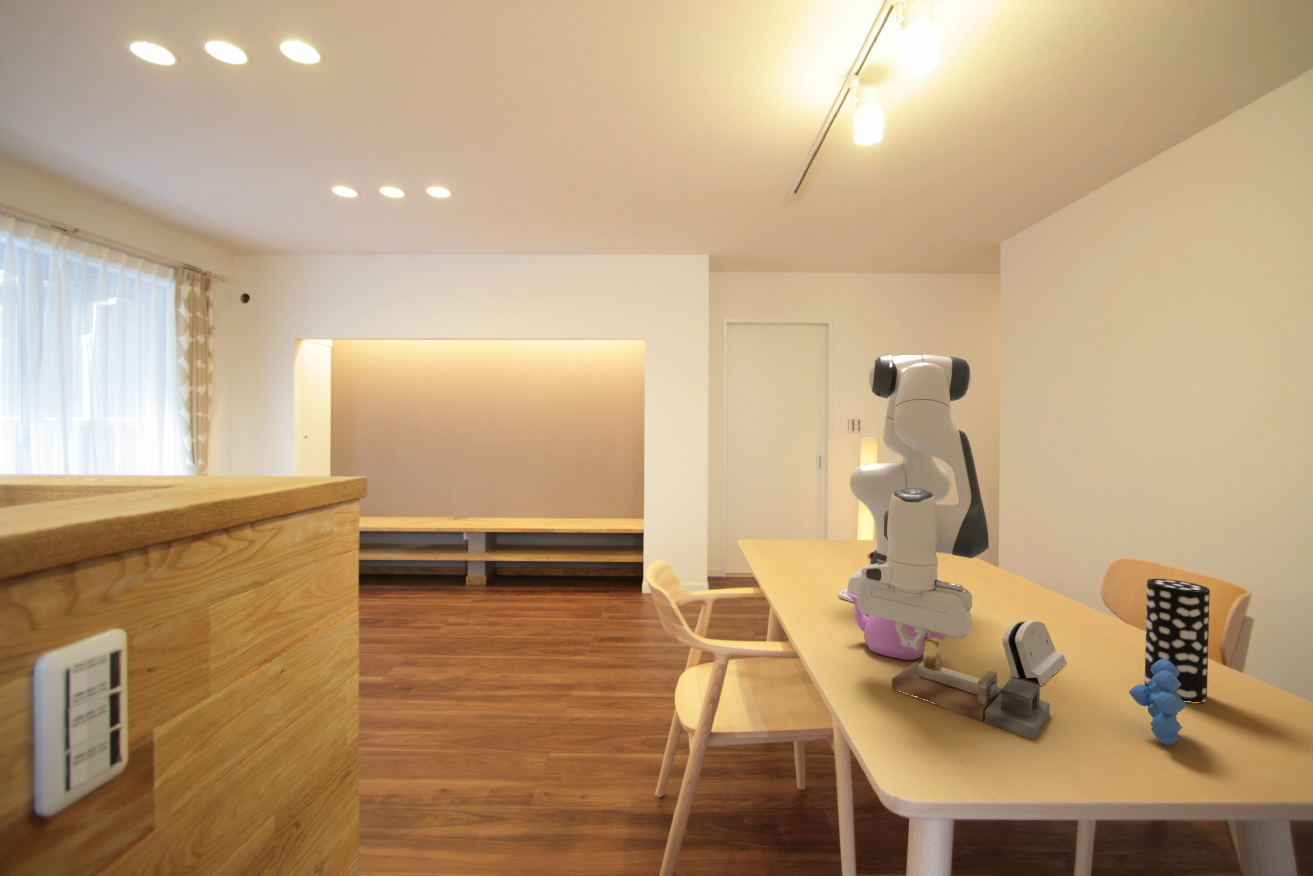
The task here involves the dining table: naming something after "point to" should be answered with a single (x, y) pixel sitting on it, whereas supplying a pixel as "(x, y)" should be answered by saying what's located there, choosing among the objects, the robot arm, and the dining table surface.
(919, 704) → the dining table surface
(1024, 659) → the light grey rounded piece
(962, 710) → the door board
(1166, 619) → the white-spotted black cylinder
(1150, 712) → the grapes
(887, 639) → the teapot
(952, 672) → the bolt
